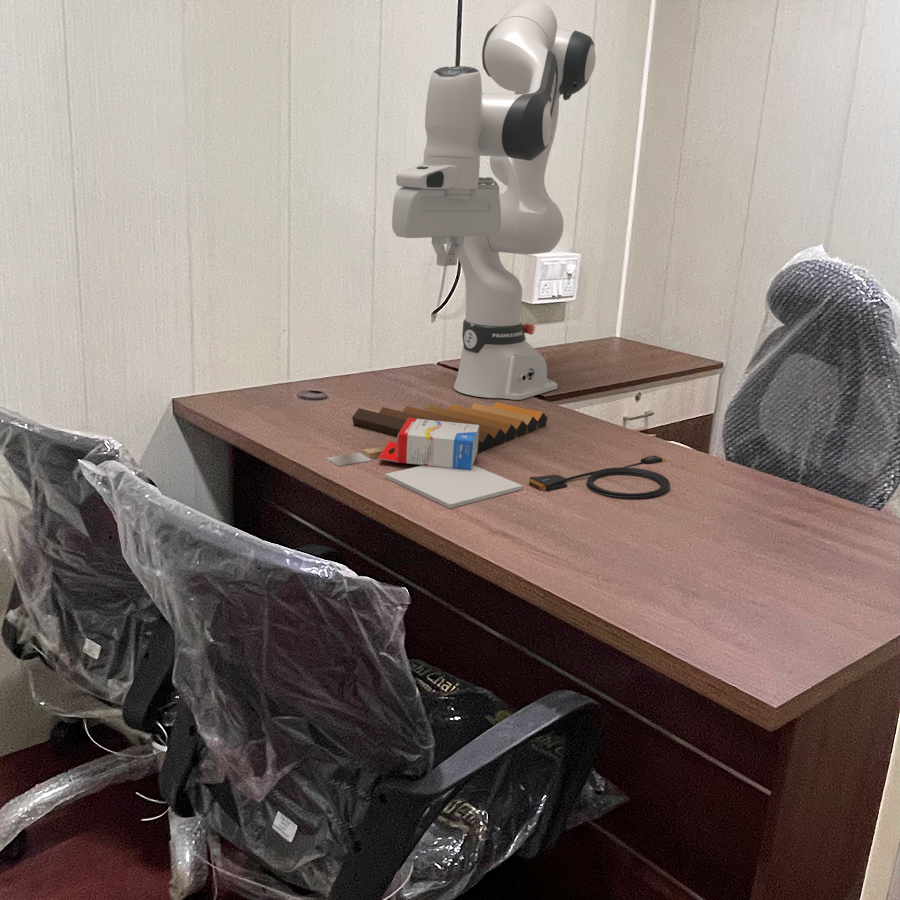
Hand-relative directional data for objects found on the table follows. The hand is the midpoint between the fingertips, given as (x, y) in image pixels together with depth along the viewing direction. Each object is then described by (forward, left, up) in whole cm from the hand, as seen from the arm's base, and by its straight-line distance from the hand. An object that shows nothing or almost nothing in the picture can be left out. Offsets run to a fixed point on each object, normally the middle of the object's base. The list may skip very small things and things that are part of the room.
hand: (446, 265), depth 155 cm
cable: (-10, +33, -30) cm, 46 cm away
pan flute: (-7, -4, -30) cm, 31 cm away
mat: (+13, +19, -29) cm, 37 cm away
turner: (+15, +2, -29) cm, 33 cm away
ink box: (+5, +15, -26) cm, 30 cm away
